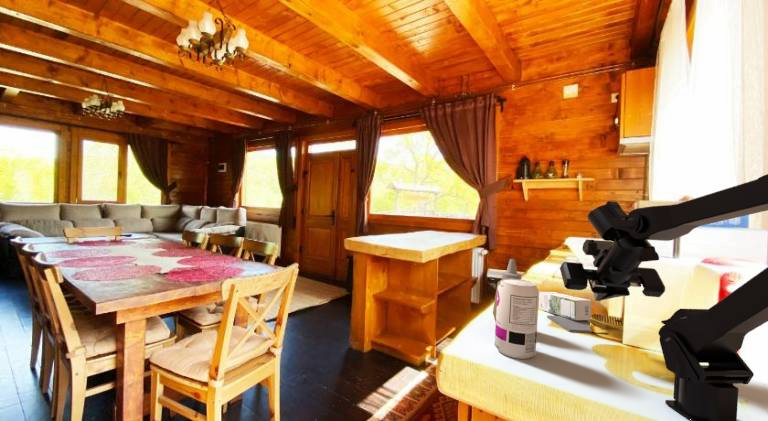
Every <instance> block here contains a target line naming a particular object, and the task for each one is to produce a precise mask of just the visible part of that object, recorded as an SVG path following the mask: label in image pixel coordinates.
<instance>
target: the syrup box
mask: <svg viewBox="0 0 768 421" xmlns="http://www.w3.org/2000/svg"><path fill="white" fill-rule="evenodd" d="M540 309H541V310H540ZM538 310H540V311H543V310H544V311H543V312H547V313H550V314H553V315H555V316H563V317H566V318H569V319H573V320H587V321H591V320H590V318H592V300H591V299H588V298H582V297H577V296H572V295H569V294H566V293H565V294H564V293H560V292H555V291H539V302H538Z"/></svg>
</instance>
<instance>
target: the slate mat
mask: <svg viewBox="0 0 768 421" xmlns="http://www.w3.org/2000/svg"><path fill="white" fill-rule="evenodd" d="M546 318H547V319H549V320H550V321H551V322H554V323H555V324H556V325H558V326H559V327H561V328H563V329H564V330H566V331H567V332H569V333H586V334H593V333H592V332H593V331H592V330H591V329H590V322H591V321H590V320H573V319H569V318H566V317H563V316H559V315H546Z"/></svg>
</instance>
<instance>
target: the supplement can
mask: <svg viewBox="0 0 768 421" xmlns="http://www.w3.org/2000/svg"><path fill="white" fill-rule="evenodd" d="M500 280H501V283H500V284H499V286H498V292H497V310H496V323H495V329H494V330H495V331H494V347H495V348H496V349H497V351H498V352H499V353H501V355H505V356H506V357H510V358H512V359H519V360H527V359H531V358H532V357H534V356H535V355H536V352H537V337H538V336H537V335H538V319H539V318H538V316H539V292H540V291H539V289H538V287H537V283H535V282H532V281H529V280H525V279H521V280H520V279H502V278H501V279H500Z"/></svg>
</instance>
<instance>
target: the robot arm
mask: <svg viewBox="0 0 768 421" xmlns="http://www.w3.org/2000/svg"><path fill="white" fill-rule="evenodd" d="M766 211H768V173H767V174H764V175H762V176H760V177H758V178H757V179H754V180H750V181H747V182H743V183H741V184H737V185H734V186H731V187H727V188H724V189H721V190H718V191H715V192H711V193H709V194H706V195H702V196H699V197H695V198H692V199H689V200H686V201H683V202H679V203H676V204H666V205H665V204H663V205H651V206H644V207H637V208H634V209H633V210H631V211H629V212H628V213H626V212H625V211H624V210H623V208H622V207H621V205H620V204H619V202H618V201H611V200H608V201H607V202H606V203H605V204H602V205H599V206H597V207H595V208H594V209H593V210H591V211H590V212H589V213H588V214H587V221H589V223H590V224H591V225H592V227H593V228H594V230H595V231H596V232H597V234H598V235H599V237H600V238H601V239H602V240H596V239H585V241H584V242H583V244H582V248H581V249H582V251H583V253H584V254H585V256H592V257H593V259H594V260H593V262H592V264H593V267H594V268H596V269H589V268H585V267H584V264H583V263H582V262H573V261H572V262H571V261H563V262H562V263H561V265H560V267H559V270H560V274H561V277H562V278H561V279H562V281H563V282H562V283H563V287H564V288H566V290H574V291H583V290H586V289H587V287H588V284H589V287H590V291H591V292H592V293H593V299H594V301H596V302H601V301H604V300H608V299H609V300H610V299H614V298H620V297H629V296H630V295H631V294H630V291H629V288H630V287H635V288H641V287H643V289H642V291H641V292H642V294H643V295H644V297H650V298H651V297H652V298H660V297H661V296H662V295H664V293H665V292H666V286H665V284H664V282H663V280H662V278H661V276H660V274H659V272H658V271H657V269H656V268H651V267H640V265H641V264H642V263H646V262H655V261H659V260H660V255H659V253H658V252H657V250H656V248H655V246H653V245H652V244H651V243H650V241H659V242H660V241H664V242H667V241H674V240H676V239H679V238H681V237H684V236H686V235H688V234H690V233H691V232H692V231H693V230H694V229H696V228H699V227H701V226H705V225H710V224H715V223H718V222H722V221H723V222H724V221H728V220H733V219H735V218H736V219H737V218H740V217H741V218H742V217H744V216H749V215H753V214H758V213H762V212H766ZM767 322H768V266H767V267H765V268H764V269H763V270H761V271H760V272H759V273H757V274H756V275H755V276H753V277H752V278H750V279H749V280H747V281H746V282H745V283H743V284H742V285H740V286H738V287H737V288H736V289H734V290H733V291H732V292H731V293H729V294H728V295H726V296H725V297H723V298H722V299H721V300H719V301H717V303H715V304H713V305H712V306H711V307H709V308H707V309H706V308H705V309H704V308H679V309H677V310H676V311H675V312H674V313H673V314H672V315H671V316H670V317H669V318H668V319H664V320H661V324H663V325H662V326H661V327H660V329H659V330H658V335H659V344H660V347H661V353H662V354H663V360H664V363H665V367H666V369H667V370H668V371H670V372H671V373H674V381H673V382H674V383H673V384H674V385H673V399H672V400H671V399H666V400H665V405H667V407H670V408H671V409H673V410H674V411H676V412H677V413H679V414H680V415H681V416H683V417H685V418H686V419H688V420H689V419H691V420H692V421H737V418H738V405H739V404H738V402H739V387H737V386H735V384H737V385H740V384H741V385H748V384H749V383H750V382H751V380H752V378H753V377H754V376H755V374H754V372H753V371H752V369H751V368H750V367H749V366H748V364H747V363H746V362H745V360H744V359H743V358H742V357H741V356H740V355H739V353H738V352H739V351H740V350H741V348H742V346H743V343H744V340H745V337H746V336H747V335H748V334H749V333H750V332H752V331H753V330H755V329H757V328H759V327H761V326H762V325H764V324H766V323H767ZM706 364H707V365H706ZM691 420H690V421H691Z"/></svg>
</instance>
